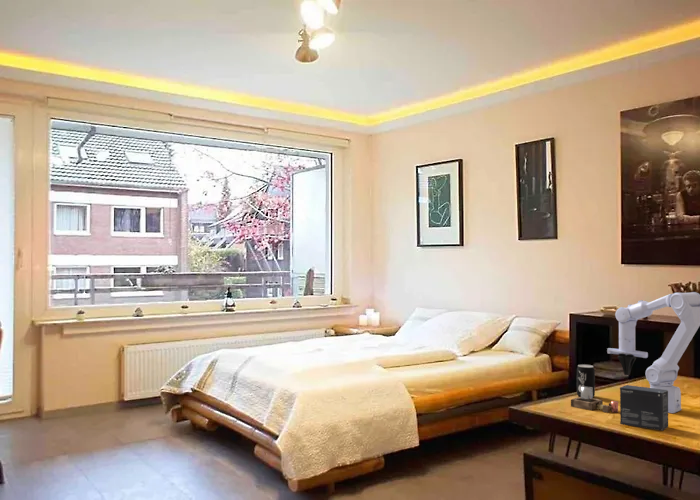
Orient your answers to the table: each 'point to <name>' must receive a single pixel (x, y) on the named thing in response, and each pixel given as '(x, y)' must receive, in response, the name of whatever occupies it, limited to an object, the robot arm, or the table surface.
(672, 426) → the table surface
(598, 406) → the lock pin
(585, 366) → the beverage can
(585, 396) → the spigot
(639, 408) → the small box
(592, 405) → the dock mount
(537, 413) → the table surface
